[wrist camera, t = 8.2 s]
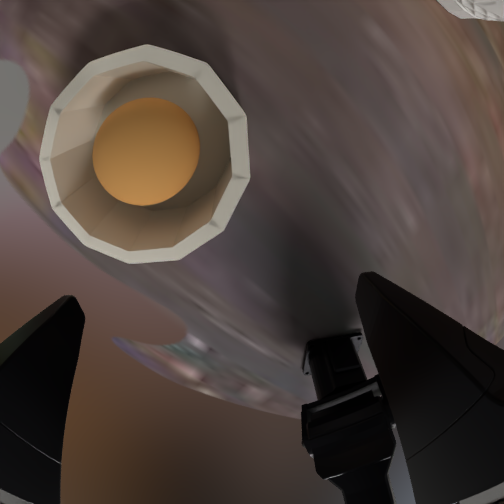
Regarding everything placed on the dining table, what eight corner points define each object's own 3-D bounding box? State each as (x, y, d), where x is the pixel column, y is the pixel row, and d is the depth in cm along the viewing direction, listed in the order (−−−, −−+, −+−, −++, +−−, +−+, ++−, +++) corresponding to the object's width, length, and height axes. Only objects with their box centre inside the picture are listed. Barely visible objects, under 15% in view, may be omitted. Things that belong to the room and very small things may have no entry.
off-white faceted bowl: (248, 208, 19) (255, 253, 14) (108, 224, 19) (74, 268, 14) (237, 52, 13) (240, 30, 8) (81, 86, 13) (29, 90, 8)
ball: (209, 179, 17) (201, 217, 12) (125, 191, 17) (89, 231, 12) (200, 90, 14) (185, 85, 9) (110, 108, 14) (62, 118, 9)
